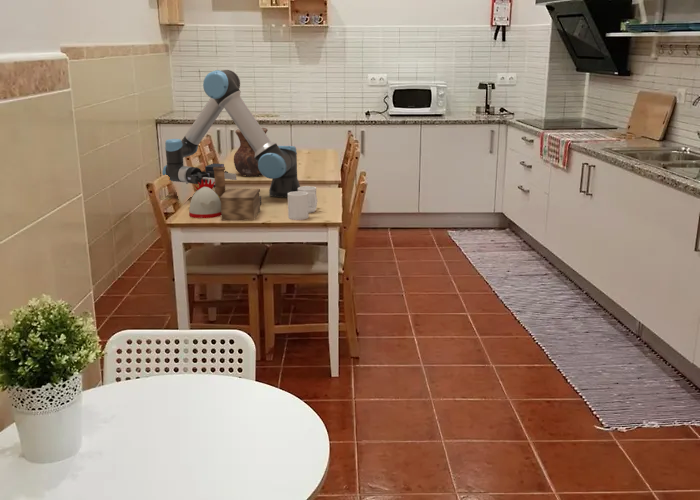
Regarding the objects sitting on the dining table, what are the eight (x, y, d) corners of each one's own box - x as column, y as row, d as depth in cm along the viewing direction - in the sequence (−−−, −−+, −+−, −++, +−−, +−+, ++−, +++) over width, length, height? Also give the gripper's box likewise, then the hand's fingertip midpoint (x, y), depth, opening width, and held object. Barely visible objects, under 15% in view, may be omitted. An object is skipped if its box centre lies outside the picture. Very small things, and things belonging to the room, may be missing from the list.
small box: (218, 187, 347) (216, 166, 345) (205, 187, 349) (204, 166, 346) (225, 183, 357) (224, 163, 354) (213, 183, 359) (212, 163, 356)
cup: (319, 218, 280) (318, 194, 278) (289, 220, 278) (288, 195, 275) (316, 214, 288) (315, 190, 285) (287, 215, 286) (286, 191, 283)
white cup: (301, 214, 289) (301, 190, 286) (295, 210, 296) (294, 187, 293) (319, 212, 292) (319, 188, 289) (312, 208, 299) (312, 185, 296)
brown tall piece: (228, 201, 314) (225, 166, 310) (225, 204, 309) (223, 168, 305) (216, 201, 314) (214, 166, 310) (214, 204, 309) (211, 168, 305)
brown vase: (226, 174, 384) (224, 128, 377) (258, 170, 397) (255, 125, 390) (250, 179, 368) (247, 132, 361) (281, 174, 382) (279, 128, 375)
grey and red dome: (225, 216, 286) (223, 180, 282) (191, 219, 281) (189, 183, 277) (220, 209, 298) (218, 175, 294) (187, 212, 294) (184, 177, 290)
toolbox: (265, 202, 311) (264, 182, 309) (254, 219, 279) (253, 197, 277) (235, 202, 311) (234, 182, 309) (220, 220, 279) (219, 197, 277)
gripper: (210, 179, 329) (244, 183, 318) (170, 187, 309) (205, 192, 298) (209, 163, 327) (243, 166, 316) (169, 170, 307) (204, 175, 296)
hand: (225, 179), depth 307 cm, fingers open, 13 cm apart
